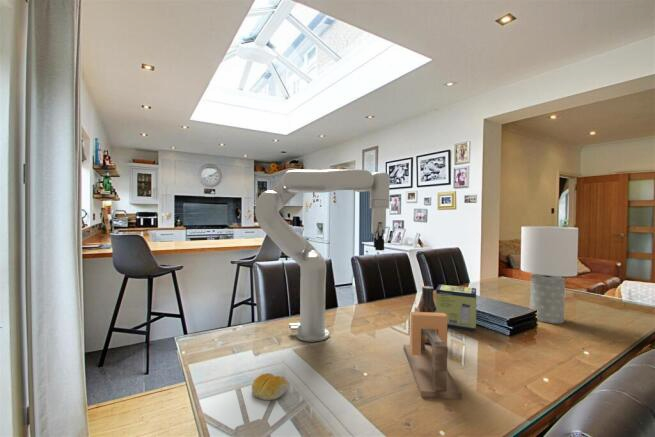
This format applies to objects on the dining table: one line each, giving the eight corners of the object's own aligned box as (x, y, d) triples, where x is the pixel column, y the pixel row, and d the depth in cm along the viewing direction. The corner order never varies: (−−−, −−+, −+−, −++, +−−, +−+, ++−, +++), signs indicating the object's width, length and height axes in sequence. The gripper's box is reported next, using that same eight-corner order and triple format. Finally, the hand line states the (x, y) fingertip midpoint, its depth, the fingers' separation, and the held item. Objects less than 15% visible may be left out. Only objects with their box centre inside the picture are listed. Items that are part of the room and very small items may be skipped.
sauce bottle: (437, 345, 110) (438, 290, 110) (419, 343, 111) (420, 288, 111) (434, 337, 117) (435, 285, 116) (417, 336, 118) (418, 284, 117)
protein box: (437, 318, 139) (438, 284, 138) (476, 324, 132) (476, 288, 132) (435, 325, 129) (435, 289, 129) (476, 332, 122) (476, 293, 122)
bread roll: (266, 379, 87) (266, 365, 87) (291, 389, 82) (291, 374, 82) (244, 394, 80) (244, 378, 80) (270, 405, 75) (270, 389, 75)
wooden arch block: (412, 355, 91) (412, 315, 91) (410, 350, 94) (410, 311, 94) (446, 356, 90) (447, 316, 90) (443, 352, 93) (444, 312, 93)
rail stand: (421, 396, 79) (421, 346, 79) (403, 348, 107) (404, 311, 107) (461, 399, 78) (462, 348, 78) (432, 350, 106) (433, 312, 106)
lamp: (539, 309, 152) (541, 226, 151) (587, 324, 133) (589, 228, 132) (509, 314, 145) (511, 226, 144) (554, 330, 125) (557, 228, 125)
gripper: (368, 205, 128) (368, 246, 129) (370, 204, 111) (370, 251, 111) (386, 205, 128) (386, 246, 128) (391, 204, 110) (391, 251, 111)
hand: (378, 248), depth 120 cm, fingers open, 9 cm apart
